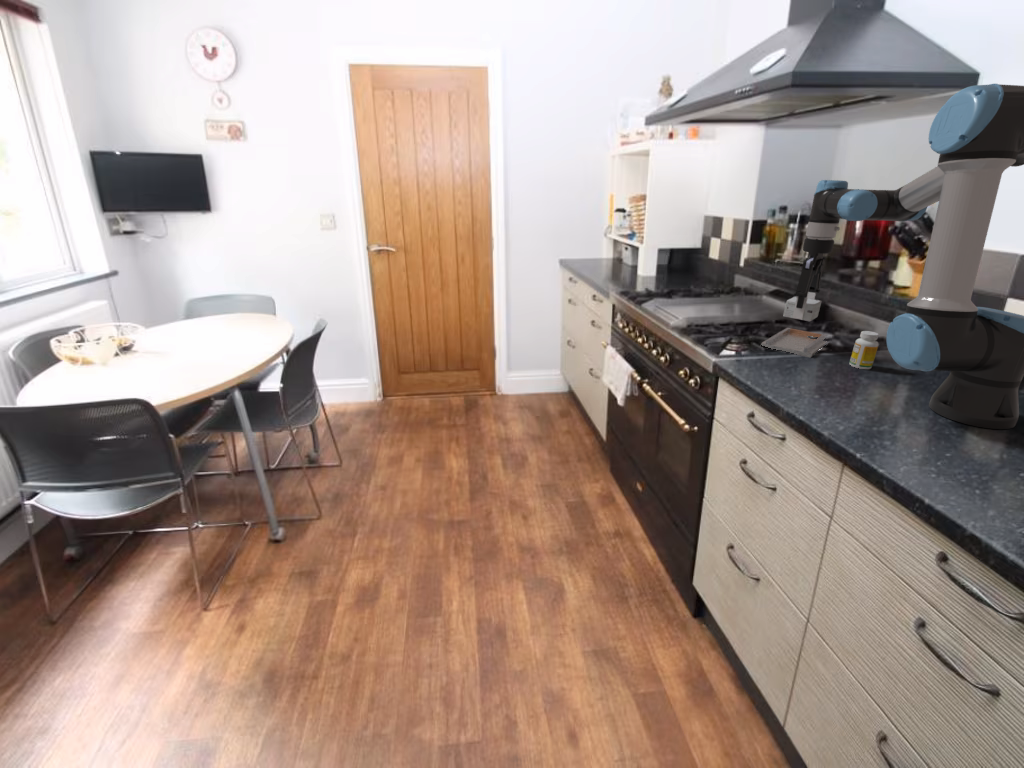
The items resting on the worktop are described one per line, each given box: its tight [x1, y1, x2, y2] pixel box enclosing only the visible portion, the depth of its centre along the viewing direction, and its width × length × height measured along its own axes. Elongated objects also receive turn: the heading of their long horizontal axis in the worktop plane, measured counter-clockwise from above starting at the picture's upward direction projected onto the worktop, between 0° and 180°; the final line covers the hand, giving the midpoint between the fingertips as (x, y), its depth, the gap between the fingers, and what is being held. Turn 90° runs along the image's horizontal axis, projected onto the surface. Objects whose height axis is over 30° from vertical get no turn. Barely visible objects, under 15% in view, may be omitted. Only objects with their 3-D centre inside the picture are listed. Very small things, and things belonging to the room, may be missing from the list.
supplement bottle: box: [848, 330, 879, 370], centre depth 146 cm, size 5×5×10 cm
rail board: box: [760, 327, 827, 359], centre depth 164 cm, size 20×14×2 cm
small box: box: [782, 296, 822, 322], centre depth 161 cm, size 8×8×5 cm
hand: (801, 315), depth 162 cm, fingers closed on small box, 8 cm apart
